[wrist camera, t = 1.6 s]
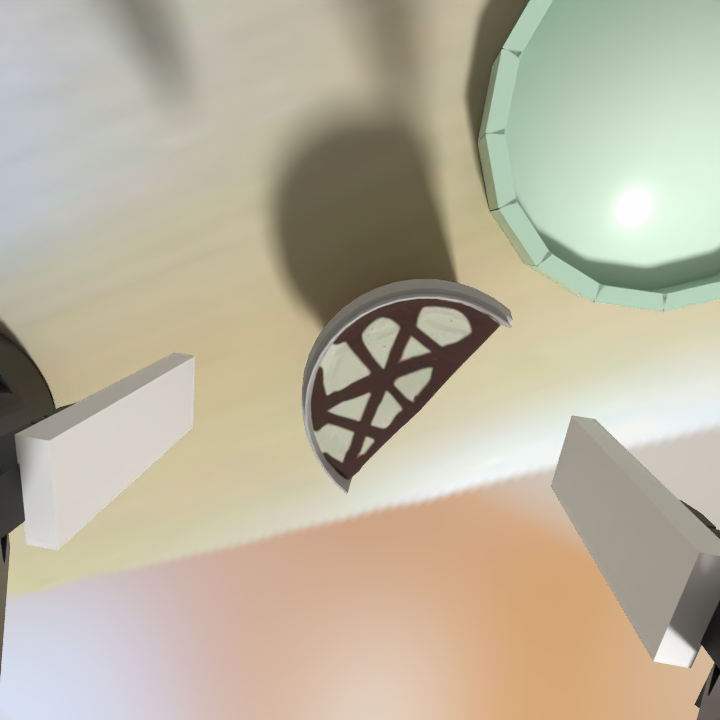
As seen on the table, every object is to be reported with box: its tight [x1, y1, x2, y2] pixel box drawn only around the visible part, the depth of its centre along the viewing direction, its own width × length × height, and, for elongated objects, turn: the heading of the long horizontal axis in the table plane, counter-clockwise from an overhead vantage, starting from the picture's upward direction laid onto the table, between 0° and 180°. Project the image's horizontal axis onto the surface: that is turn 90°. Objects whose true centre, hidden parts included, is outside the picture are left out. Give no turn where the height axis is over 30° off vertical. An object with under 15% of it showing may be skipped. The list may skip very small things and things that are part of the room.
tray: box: [478, 0, 720, 312], centre depth 24 cm, size 20×20×2 cm
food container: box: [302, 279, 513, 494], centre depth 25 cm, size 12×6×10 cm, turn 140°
